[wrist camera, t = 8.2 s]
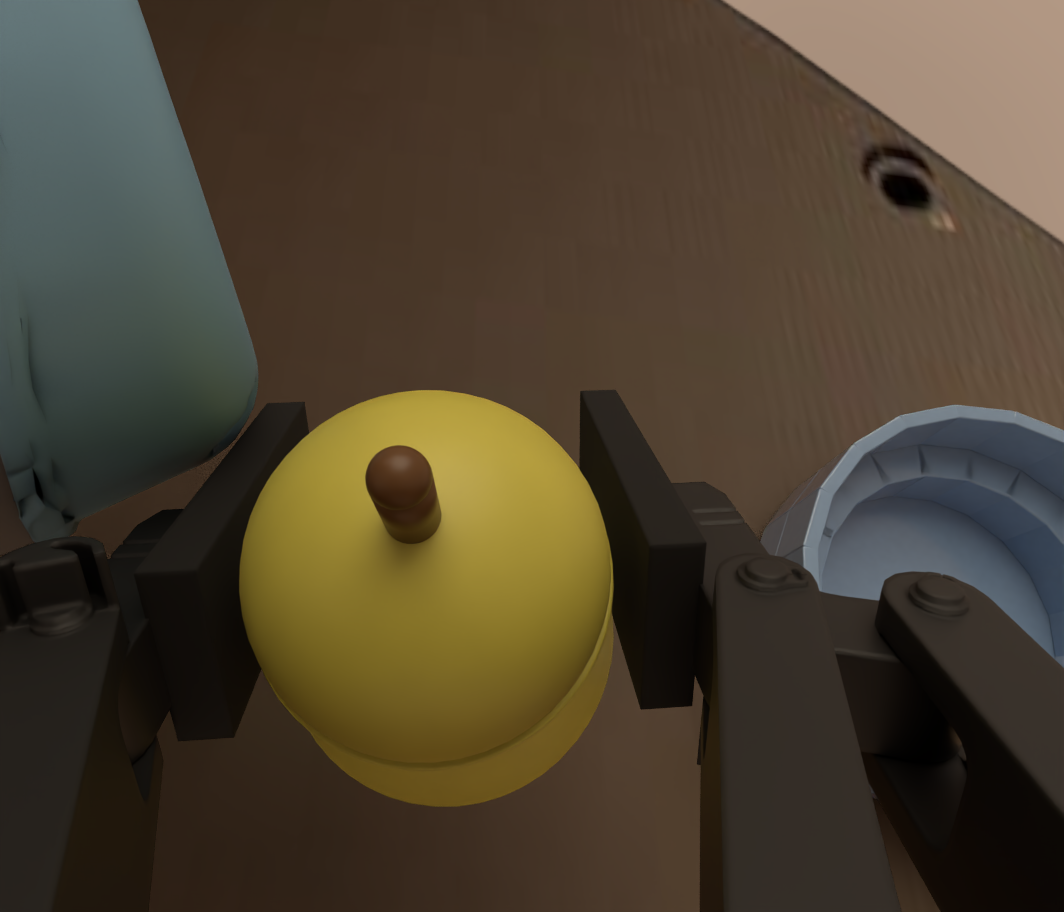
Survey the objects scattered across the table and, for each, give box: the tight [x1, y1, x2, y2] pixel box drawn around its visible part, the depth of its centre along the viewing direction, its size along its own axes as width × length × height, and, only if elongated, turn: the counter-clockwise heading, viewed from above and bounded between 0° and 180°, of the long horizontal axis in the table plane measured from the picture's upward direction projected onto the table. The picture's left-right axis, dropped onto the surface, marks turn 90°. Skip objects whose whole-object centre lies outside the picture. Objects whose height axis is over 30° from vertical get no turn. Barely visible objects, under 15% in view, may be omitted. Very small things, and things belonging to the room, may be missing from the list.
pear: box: [239, 390, 614, 807], centre depth 12 cm, size 6×6×12 cm
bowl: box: [760, 405, 1064, 800], centre depth 25 cm, size 13×13×6 cm
